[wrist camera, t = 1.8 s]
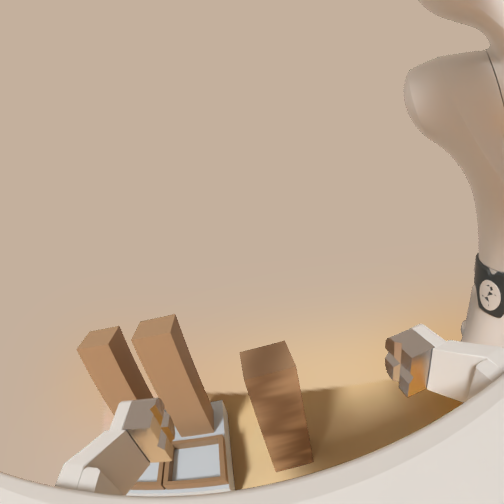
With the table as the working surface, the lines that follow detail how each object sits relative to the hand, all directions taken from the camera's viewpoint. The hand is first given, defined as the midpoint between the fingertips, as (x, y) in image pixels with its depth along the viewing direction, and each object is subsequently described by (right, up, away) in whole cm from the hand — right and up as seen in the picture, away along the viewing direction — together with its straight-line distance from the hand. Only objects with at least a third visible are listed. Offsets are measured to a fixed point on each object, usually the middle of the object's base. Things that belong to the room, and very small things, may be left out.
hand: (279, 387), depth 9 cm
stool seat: (-10, -20, +19) cm, 29 cm away
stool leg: (+3, -17, +17) cm, 24 cm away
